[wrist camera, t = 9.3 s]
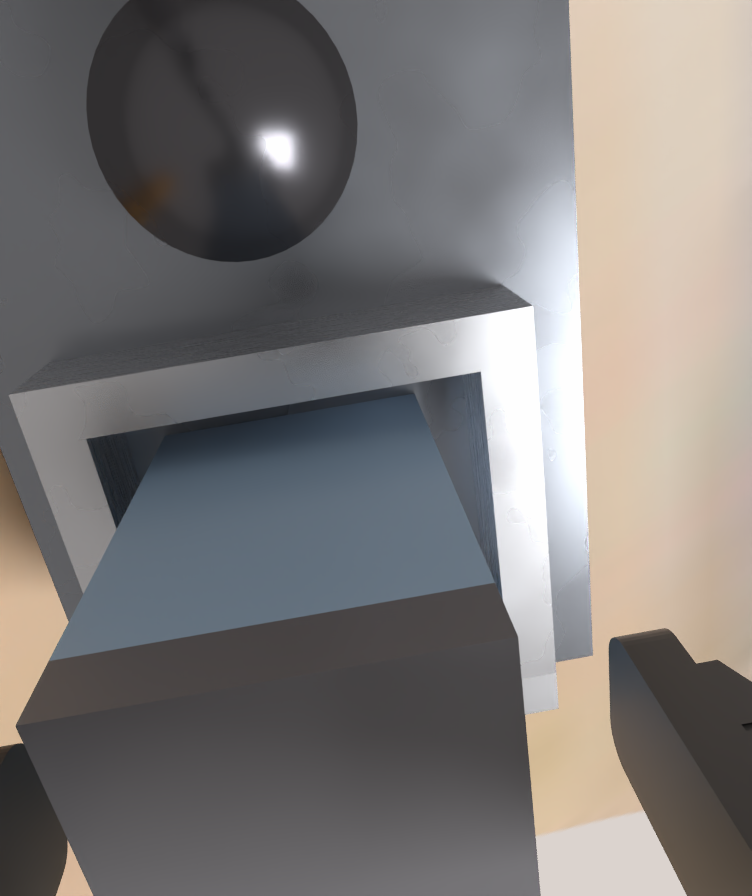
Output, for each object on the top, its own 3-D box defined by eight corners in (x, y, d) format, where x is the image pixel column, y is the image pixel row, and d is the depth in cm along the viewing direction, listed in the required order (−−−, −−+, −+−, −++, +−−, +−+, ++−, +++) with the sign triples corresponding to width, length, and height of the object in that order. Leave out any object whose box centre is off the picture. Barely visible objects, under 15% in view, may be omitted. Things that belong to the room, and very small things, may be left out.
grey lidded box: (164, 435, 15) (15, 725, 7) (414, 393, 15) (517, 637, 7) (223, 639, 17) (154, 1026, 9) (442, 600, 17) (545, 954, 9)
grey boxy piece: (-2, 45, 18) (-278, -48, 9) (472, -31, 18) (612, -187, 10) (168, 582, 24) (92, 809, 16) (517, 521, 24) (625, 713, 16)
